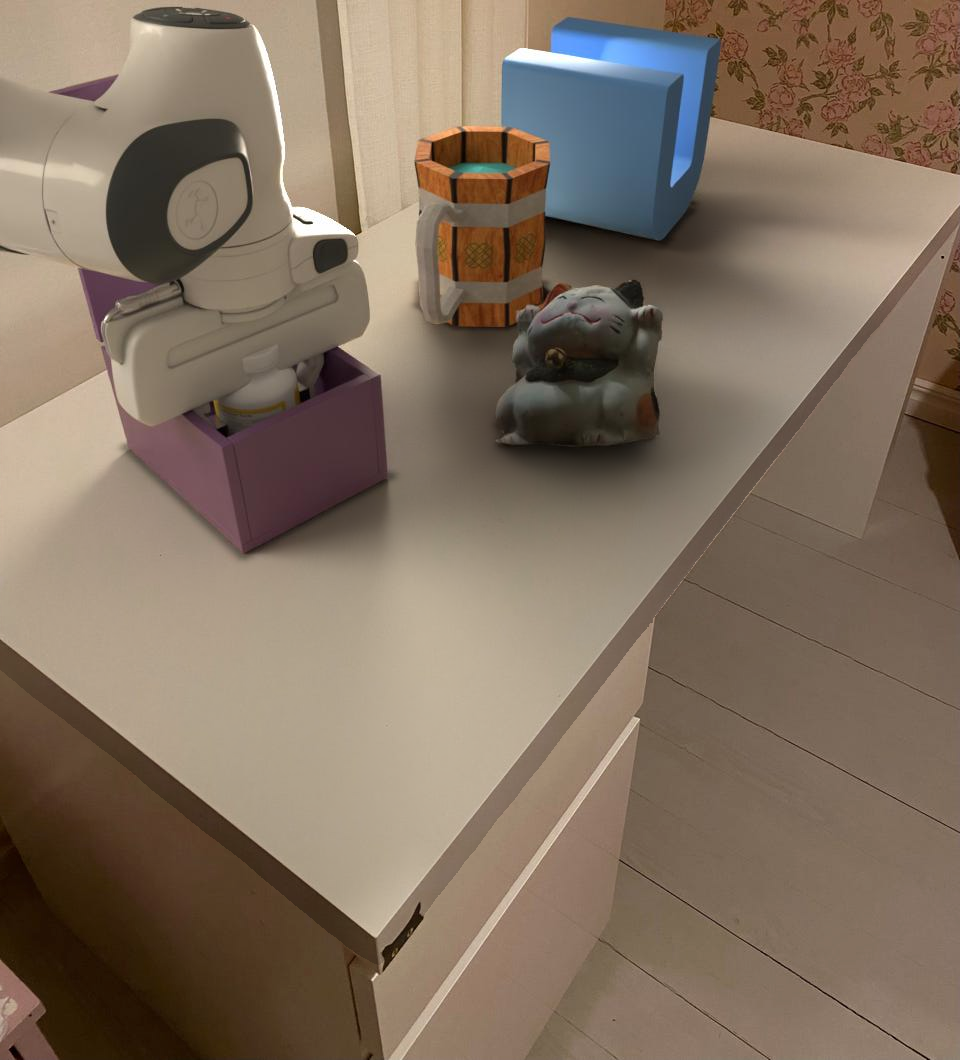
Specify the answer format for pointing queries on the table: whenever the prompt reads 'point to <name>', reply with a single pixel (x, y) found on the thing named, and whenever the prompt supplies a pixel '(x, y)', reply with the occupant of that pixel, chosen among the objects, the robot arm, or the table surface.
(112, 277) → the lid
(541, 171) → the wooden beer tankard
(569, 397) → the lucky cat figurine
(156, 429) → the box
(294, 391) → the pill bottle
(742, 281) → the table surface
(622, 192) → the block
